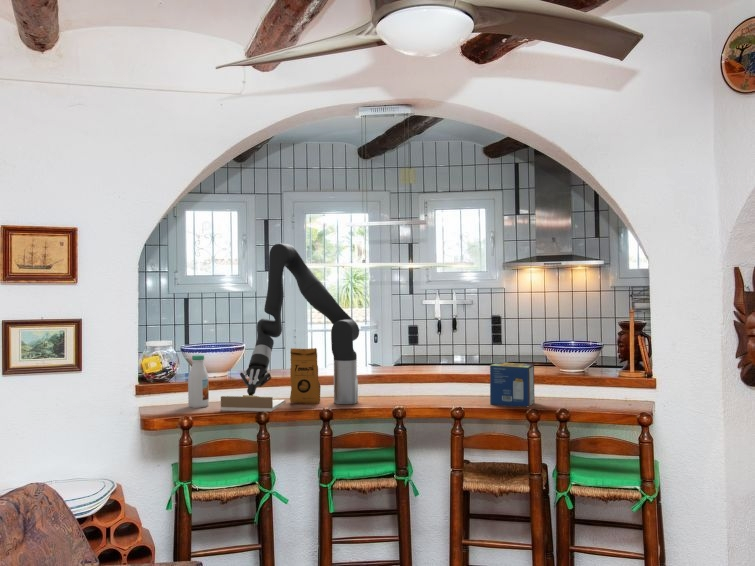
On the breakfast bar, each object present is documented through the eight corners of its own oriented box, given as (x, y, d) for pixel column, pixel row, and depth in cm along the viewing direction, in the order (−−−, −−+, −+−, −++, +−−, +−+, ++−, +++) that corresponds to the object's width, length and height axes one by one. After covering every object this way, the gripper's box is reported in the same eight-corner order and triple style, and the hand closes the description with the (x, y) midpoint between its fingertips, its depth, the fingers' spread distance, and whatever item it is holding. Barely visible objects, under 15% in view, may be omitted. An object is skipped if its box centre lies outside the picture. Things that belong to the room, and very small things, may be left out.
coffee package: (318, 405, 257) (318, 349, 257) (287, 405, 258) (287, 349, 258) (322, 400, 267) (322, 346, 267) (292, 400, 268) (292, 346, 268)
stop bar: (262, 397, 259) (253, 395, 248) (262, 401, 259) (253, 400, 248) (251, 396, 260) (242, 395, 249) (251, 401, 259) (242, 400, 249)
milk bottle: (196, 408, 251) (196, 356, 251) (184, 406, 256) (183, 355, 256) (212, 405, 258) (212, 355, 258) (200, 403, 262) (200, 353, 262)
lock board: (285, 402, 263) (285, 389, 263) (271, 411, 245) (271, 397, 245) (237, 401, 266) (237, 388, 266) (220, 410, 248) (220, 396, 248)
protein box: (496, 400, 266) (496, 362, 266) (534, 403, 259) (534, 363, 259) (489, 404, 256) (489, 365, 256) (528, 407, 249) (528, 367, 250)
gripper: (242, 352, 262) (231, 388, 250) (274, 353, 260) (264, 388, 248) (247, 364, 267) (236, 399, 255) (278, 364, 265) (269, 400, 253)
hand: (250, 394), depth 252 cm, fingers closed
